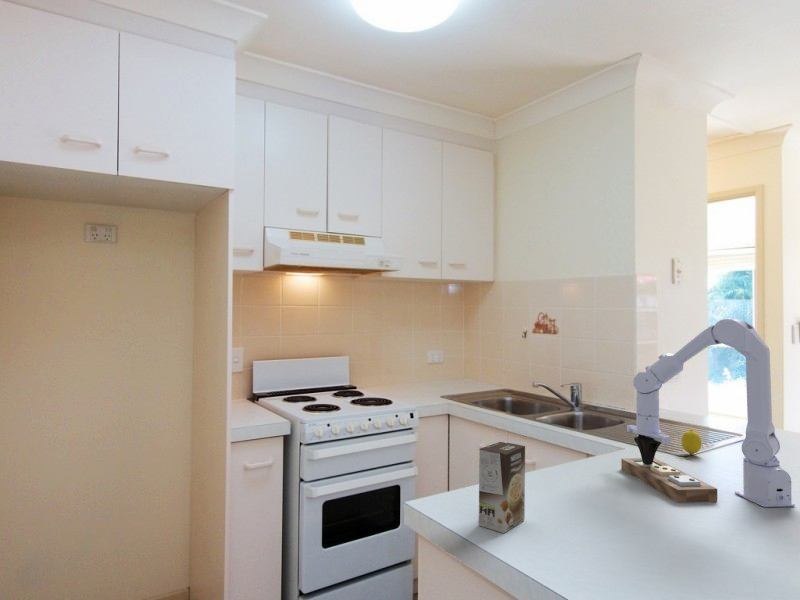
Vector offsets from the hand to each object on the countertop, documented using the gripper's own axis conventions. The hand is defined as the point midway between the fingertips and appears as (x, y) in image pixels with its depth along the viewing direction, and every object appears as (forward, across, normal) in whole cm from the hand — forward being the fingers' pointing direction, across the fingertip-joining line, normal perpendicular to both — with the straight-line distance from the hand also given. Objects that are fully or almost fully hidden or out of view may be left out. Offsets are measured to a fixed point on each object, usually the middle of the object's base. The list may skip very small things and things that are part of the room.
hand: (647, 463), depth 144 cm
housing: (+3, -8, +1) cm, 9 cm away
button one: (+3, 0, 0) cm, 3 cm away
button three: (+2, -8, +1) cm, 8 cm away
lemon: (+3, +13, -28) cm, 31 cm away
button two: (+2, -16, +3) cm, 16 cm away
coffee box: (+3, -21, +55) cm, 58 cm away
